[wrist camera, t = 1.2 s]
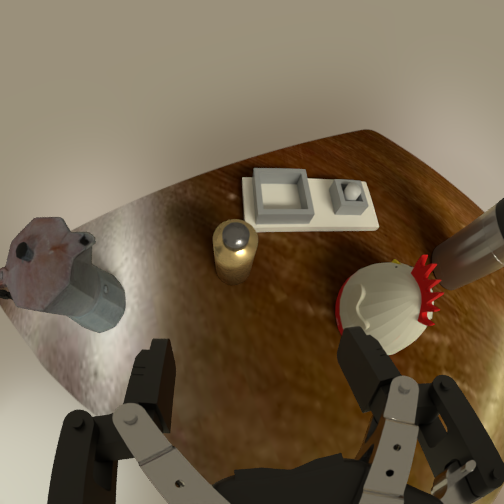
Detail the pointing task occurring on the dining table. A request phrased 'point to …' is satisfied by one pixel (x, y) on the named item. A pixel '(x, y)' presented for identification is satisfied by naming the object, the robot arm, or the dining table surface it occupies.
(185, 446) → the dining table surface
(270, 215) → the white tray
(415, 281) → the kitchen timer
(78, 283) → the moka pot
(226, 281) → the gold bottle
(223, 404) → the dining table surface
